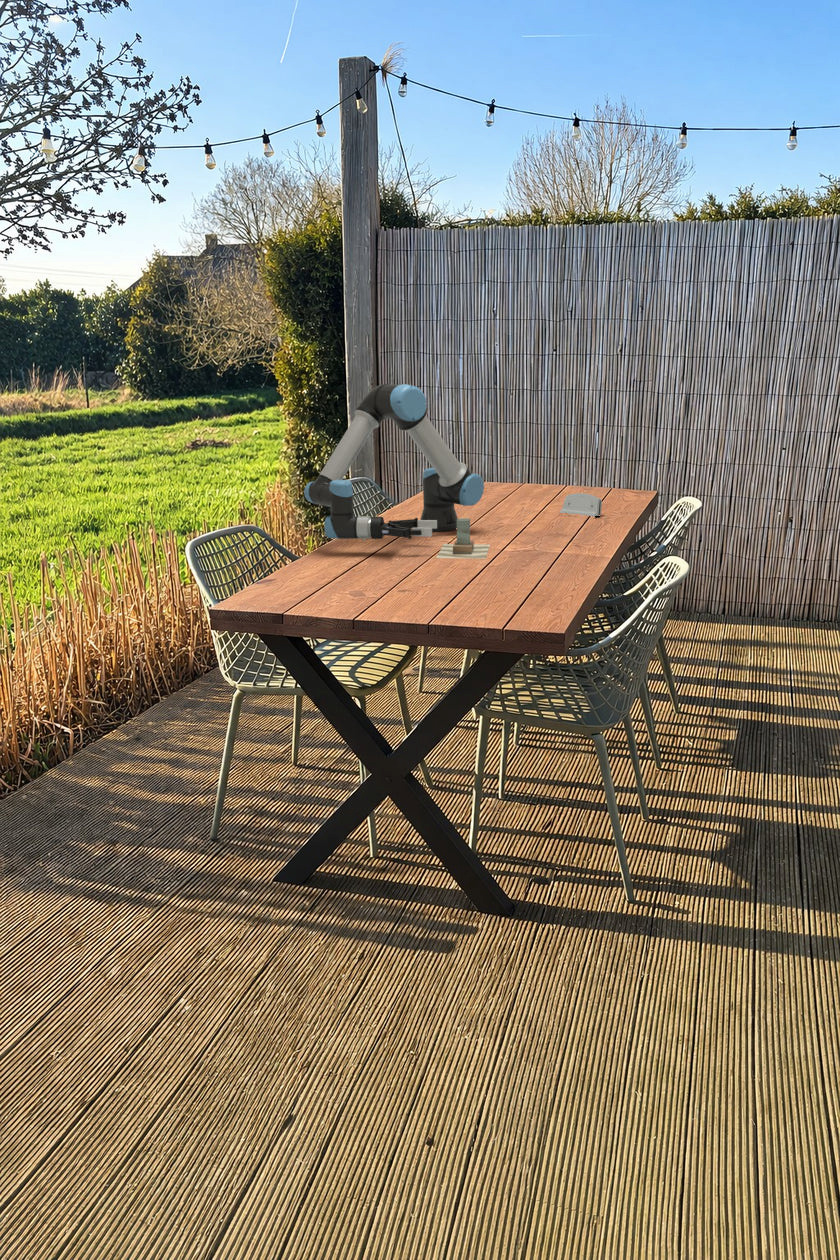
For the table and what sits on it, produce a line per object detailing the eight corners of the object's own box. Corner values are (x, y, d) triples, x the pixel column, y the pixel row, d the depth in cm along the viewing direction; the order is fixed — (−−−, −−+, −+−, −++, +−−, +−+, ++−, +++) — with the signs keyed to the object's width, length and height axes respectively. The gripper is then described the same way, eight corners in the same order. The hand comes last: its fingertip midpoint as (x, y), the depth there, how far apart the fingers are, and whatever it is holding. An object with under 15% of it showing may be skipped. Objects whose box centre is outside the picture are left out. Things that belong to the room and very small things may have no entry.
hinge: (558, 514, 395) (563, 490, 394) (564, 517, 398) (569, 493, 398) (595, 518, 384) (600, 493, 384) (600, 521, 388) (605, 496, 388)
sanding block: (456, 547, 329) (455, 516, 326) (473, 548, 328) (473, 516, 325) (453, 554, 320) (452, 522, 317) (471, 554, 319) (471, 522, 316)
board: (443, 548, 336) (443, 544, 336) (490, 548, 334) (490, 544, 333) (435, 562, 315) (435, 558, 315) (485, 563, 313) (485, 558, 313)
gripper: (378, 531, 339) (439, 532, 336) (364, 546, 315) (429, 547, 313) (377, 510, 337) (438, 510, 334) (363, 523, 313) (429, 523, 310)
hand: (434, 528), depth 323 cm, fingers open, 13 cm apart
